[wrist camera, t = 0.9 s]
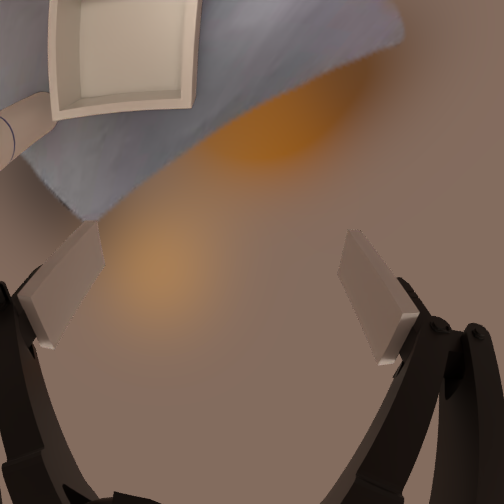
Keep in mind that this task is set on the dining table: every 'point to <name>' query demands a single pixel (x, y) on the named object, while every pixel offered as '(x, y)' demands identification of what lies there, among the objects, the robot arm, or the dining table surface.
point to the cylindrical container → (24, 125)
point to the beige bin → (122, 55)
